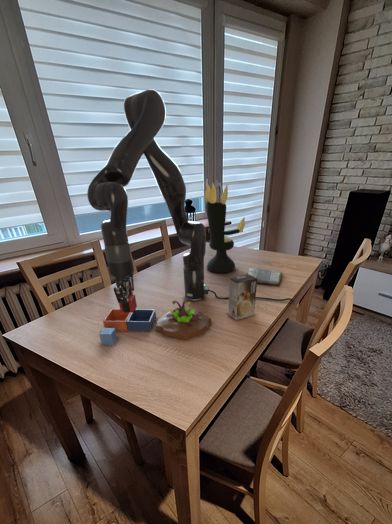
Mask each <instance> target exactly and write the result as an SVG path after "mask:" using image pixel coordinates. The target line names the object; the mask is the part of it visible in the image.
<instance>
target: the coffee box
mask: <svg viewBox="0 0 392 524" xmlns="http://www.w3.org/2000/svg"><path fill="white" fill-rule="evenodd" d="M228 285H229V286H228V290H229V291H228V297H229V299H228V308H227V309H228V311H227V314H228V315H229V316H230V317H231V318H233V319H234V320H235V321H237V320H241V319H245V318H247V317H251V316H254V315H255V309H256V297H257V289H258V288H257V286H258V283H257V278H255V277H253V276H251V275H249V274H248V273H247V274H242V275H237V276H233V277H229V284H228Z"/></svg>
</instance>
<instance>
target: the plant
mask: <svg viewBox="0 0 392 524" xmlns="http://www.w3.org/2000/svg"><path fill="white" fill-rule="evenodd" d="M171 304H172V305H175V304H176V305H177V306H178V307H176V308H173V309H171V310H169V311H168V312H166V313H164V314H163V315H162V316H161V317H159V318H158V319H157V321H156V327H155V328H156V331H157V332H160V333H163V335H164V336H166V337H171V338H177V339H182V340H189V339H192V338H195V337H198V336H201V335H202V334H204V333H205V332H206V331H208V328H209V325H210V324H211V323H212V318H211V317H210V316H208V315H207V314H205V313H204V312H201V311H197V310H196V309H195V308H194V309H189V307H185V305H187V306H190V305H191V301H189V300H186V299H184V300H183V301H182V303H180V302H179V301H178V300H172V301H171Z"/></svg>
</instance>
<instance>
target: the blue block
mask: <svg viewBox="0 0 392 524" xmlns="http://www.w3.org/2000/svg"><path fill="white" fill-rule="evenodd" d="M98 336H99V339H100V343H101V345H113V346H114V345H115V344H116V341H117V340H118V335H117V330H115V328H104V327H103V328H102V329H101V331H100V332H99V333H98Z"/></svg>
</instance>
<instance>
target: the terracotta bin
mask: <svg viewBox="0 0 392 524" xmlns="http://www.w3.org/2000/svg"><path fill="white" fill-rule="evenodd" d="M131 313H132V312H129V313H124V312H121V310H120V308H111V309H110V311H109V312H108V313H107V315H106V316H105V317H104V319H103V321H102V323H103V328H115V330H116V331H125V332H126V331H128V326H127V320H128V318H129V317H130V315H131ZM128 332H129V331H128Z"/></svg>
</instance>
